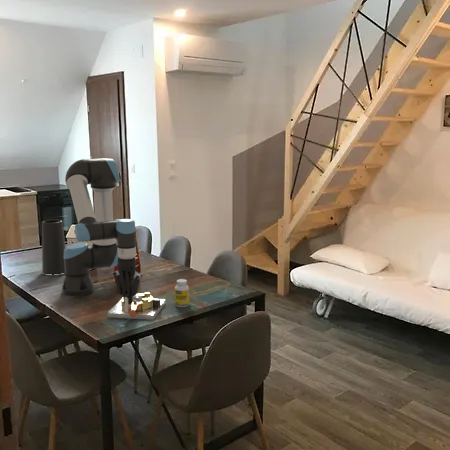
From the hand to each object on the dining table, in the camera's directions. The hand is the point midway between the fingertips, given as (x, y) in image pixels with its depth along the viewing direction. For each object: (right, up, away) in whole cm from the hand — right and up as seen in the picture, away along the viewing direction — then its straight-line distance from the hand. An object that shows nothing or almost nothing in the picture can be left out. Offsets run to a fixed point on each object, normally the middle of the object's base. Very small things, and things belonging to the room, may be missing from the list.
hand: (128, 311), depth 216 cm
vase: (-53, +10, +68) cm, 87 cm away
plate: (+2, -1, +11) cm, 11 cm away
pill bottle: (+21, 0, +17) cm, 27 cm away
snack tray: (+2, 0, +7) cm, 7 cm away
